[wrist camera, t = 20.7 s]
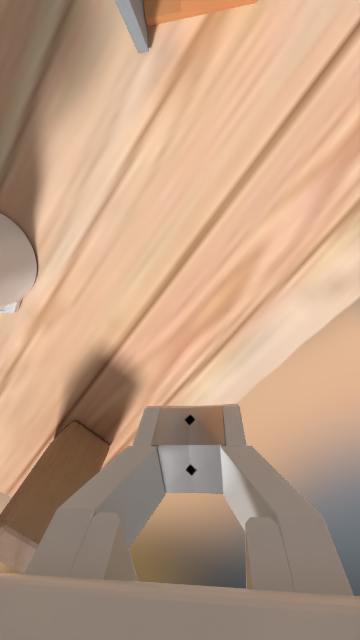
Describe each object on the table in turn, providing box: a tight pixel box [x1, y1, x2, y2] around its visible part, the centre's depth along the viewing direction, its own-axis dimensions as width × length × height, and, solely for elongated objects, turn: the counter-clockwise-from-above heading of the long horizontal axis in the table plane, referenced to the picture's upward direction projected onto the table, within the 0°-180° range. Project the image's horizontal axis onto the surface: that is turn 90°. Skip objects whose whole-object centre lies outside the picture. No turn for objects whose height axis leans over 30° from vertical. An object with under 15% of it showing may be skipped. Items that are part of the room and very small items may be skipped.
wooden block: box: [0, 421, 109, 574], centre depth 46 cm, size 10×10×20 cm
